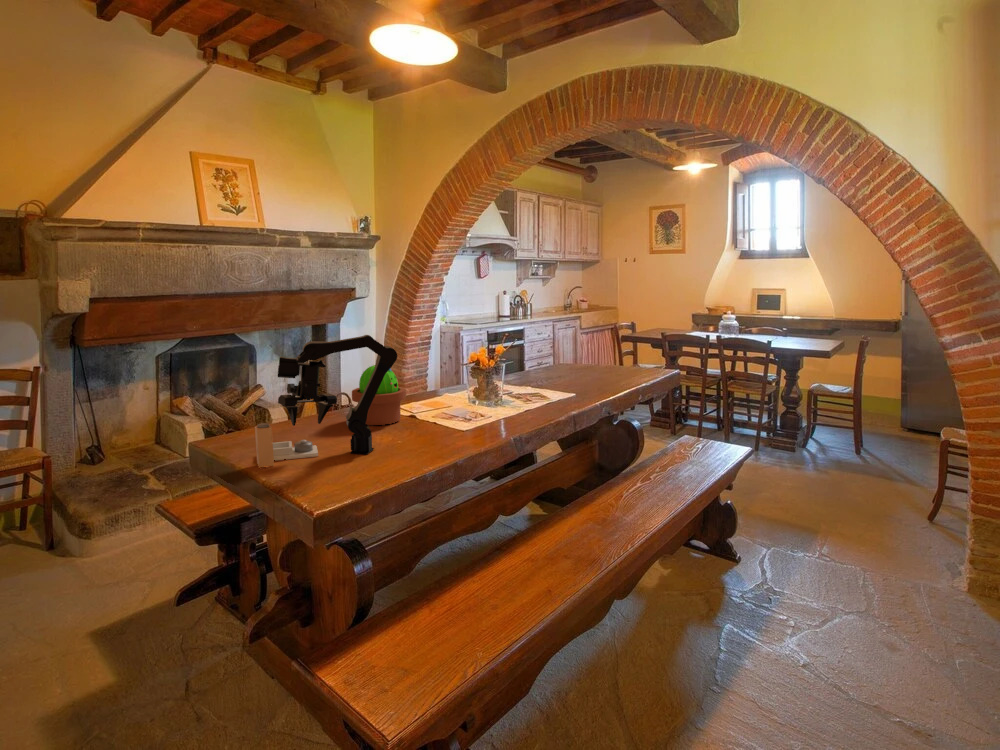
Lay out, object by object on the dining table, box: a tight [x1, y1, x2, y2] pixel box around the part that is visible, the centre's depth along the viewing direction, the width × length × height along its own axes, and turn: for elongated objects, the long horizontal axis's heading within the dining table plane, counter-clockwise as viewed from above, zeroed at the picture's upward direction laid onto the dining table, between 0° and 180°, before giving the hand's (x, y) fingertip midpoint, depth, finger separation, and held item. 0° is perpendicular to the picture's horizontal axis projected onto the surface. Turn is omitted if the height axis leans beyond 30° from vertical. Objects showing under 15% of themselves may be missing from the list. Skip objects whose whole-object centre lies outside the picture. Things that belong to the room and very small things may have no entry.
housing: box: [273, 439, 319, 461], centre depth 201 cm, size 18×10×5 cm, turn 110°
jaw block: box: [254, 422, 275, 468], centre depth 189 cm, size 4×4×14 cm
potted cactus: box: [351, 364, 407, 426], centre depth 247 cm, size 22×22×25 cm
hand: (306, 424), depth 198 cm, fingers open, 9 cm apart
